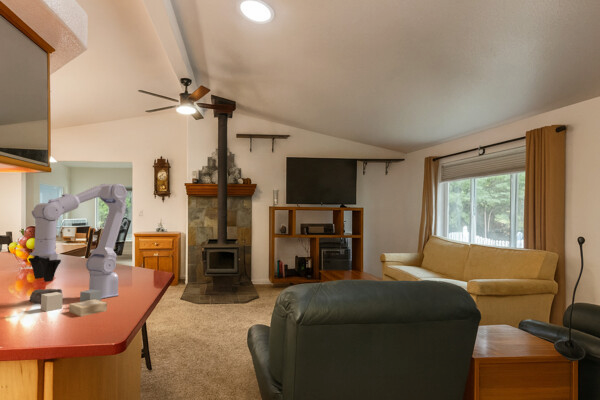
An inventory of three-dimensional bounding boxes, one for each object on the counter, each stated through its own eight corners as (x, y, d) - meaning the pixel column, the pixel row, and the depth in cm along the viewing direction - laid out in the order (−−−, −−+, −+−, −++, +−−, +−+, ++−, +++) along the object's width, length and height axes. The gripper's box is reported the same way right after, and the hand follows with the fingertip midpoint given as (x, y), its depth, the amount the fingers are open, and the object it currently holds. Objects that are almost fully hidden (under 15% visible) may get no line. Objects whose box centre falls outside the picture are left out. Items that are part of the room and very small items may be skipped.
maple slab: (94, 308, 120) (95, 299, 120) (106, 312, 115) (107, 302, 115) (68, 313, 113) (69, 303, 113) (80, 317, 109) (81, 307, 109)
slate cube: (91, 303, 124) (91, 289, 125) (100, 304, 123) (101, 290, 123) (79, 306, 120) (80, 291, 120) (89, 307, 119) (90, 293, 119)
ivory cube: (56, 306, 119) (56, 292, 119) (62, 308, 117) (62, 293, 117) (40, 309, 115) (41, 294, 116) (46, 311, 113) (47, 296, 113)
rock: (63, 296, 133) (64, 286, 134) (53, 303, 123) (53, 292, 123) (36, 297, 131) (36, 287, 131) (23, 305, 120) (24, 293, 121)
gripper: (22, 238, 117) (20, 278, 116) (40, 240, 108) (38, 284, 108) (47, 237, 122) (45, 275, 122) (65, 239, 114) (63, 281, 114)
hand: (43, 279), depth 115 cm, fingers open, 7 cm apart
